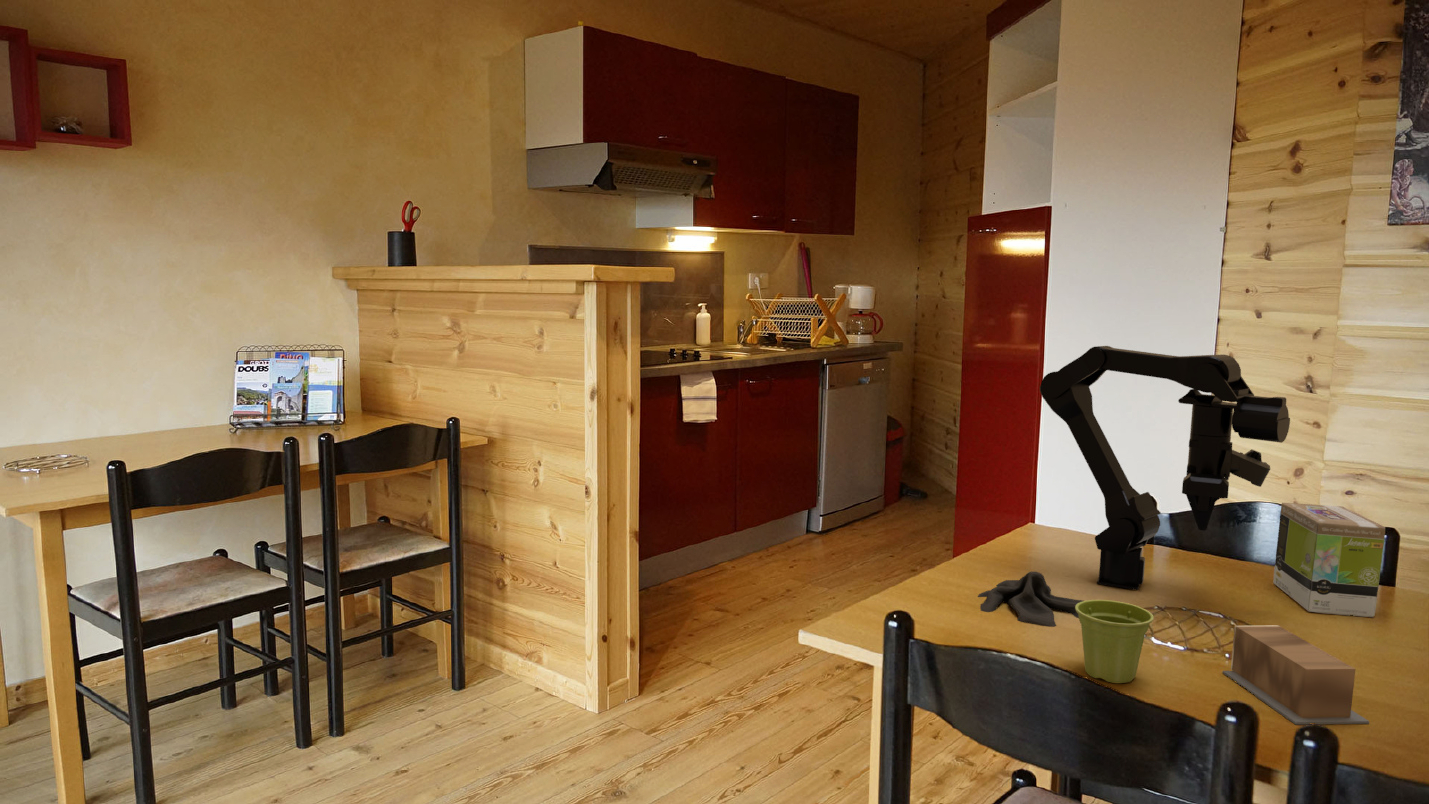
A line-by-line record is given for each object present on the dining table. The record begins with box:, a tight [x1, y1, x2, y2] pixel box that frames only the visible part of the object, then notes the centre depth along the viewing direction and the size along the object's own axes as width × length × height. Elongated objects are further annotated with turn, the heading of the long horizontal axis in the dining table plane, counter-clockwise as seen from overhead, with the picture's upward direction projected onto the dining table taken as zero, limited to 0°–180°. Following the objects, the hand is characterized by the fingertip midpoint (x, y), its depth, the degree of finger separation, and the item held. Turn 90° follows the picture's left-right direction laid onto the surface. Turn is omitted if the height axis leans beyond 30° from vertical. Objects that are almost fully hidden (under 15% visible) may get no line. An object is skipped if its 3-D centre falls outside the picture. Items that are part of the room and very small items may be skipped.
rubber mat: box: [1222, 670, 1370, 726], centre depth 117 cm, size 14×9×1 cm, turn 3°
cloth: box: [977, 570, 1085, 628], centre depth 149 cm, size 22×19×6 cm
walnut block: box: [1230, 624, 1356, 718], centre depth 118 cm, size 6×6×14 cm
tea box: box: [1272, 502, 1386, 618], centre depth 153 cm, size 15×10×15 cm, turn 168°
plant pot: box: [1075, 599, 1154, 684], centre depth 123 cm, size 9×9×9 cm
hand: (1202, 529), depth 151 cm, fingers closed
